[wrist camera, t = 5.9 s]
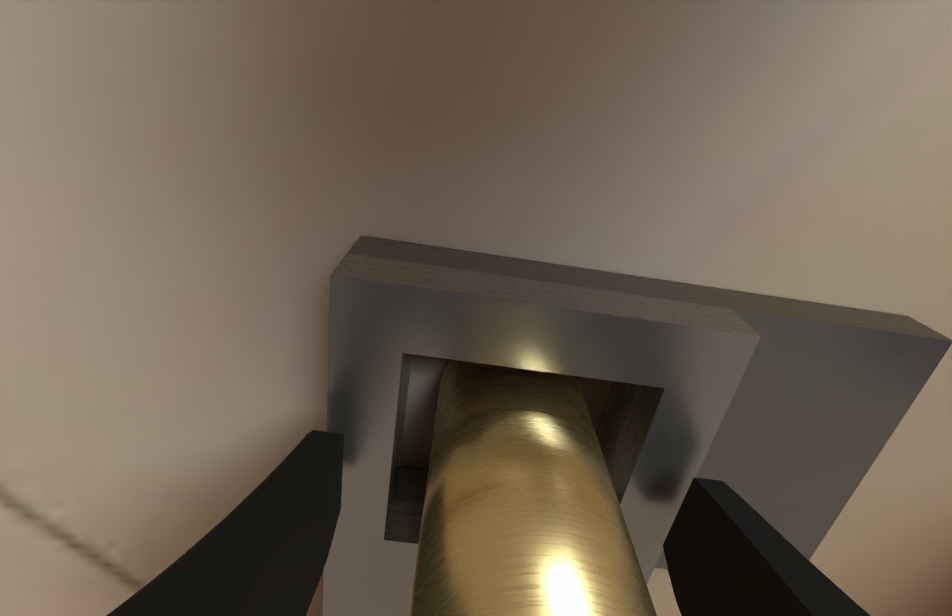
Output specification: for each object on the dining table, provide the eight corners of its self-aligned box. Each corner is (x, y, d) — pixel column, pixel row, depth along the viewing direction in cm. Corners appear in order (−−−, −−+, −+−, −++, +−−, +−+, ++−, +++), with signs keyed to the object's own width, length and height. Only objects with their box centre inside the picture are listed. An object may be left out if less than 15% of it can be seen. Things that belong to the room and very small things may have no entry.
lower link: (908, 316, 11) (953, 340, 10) (771, 546, 15) (793, 583, 14) (360, 235, 11) (347, 252, 10) (347, 497, 14) (336, 531, 13)
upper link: (706, 286, 11) (761, 336, 9) (549, 693, 18) (558, 774, 16) (360, 235, 11) (330, 274, 9) (338, 673, 18) (319, 754, 16)
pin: (599, 352, 12) (735, 655, 6) (549, 459, 13) (612, 795, 7) (460, 315, 12) (437, 596, 5) (424, 430, 13) (373, 758, 7)
